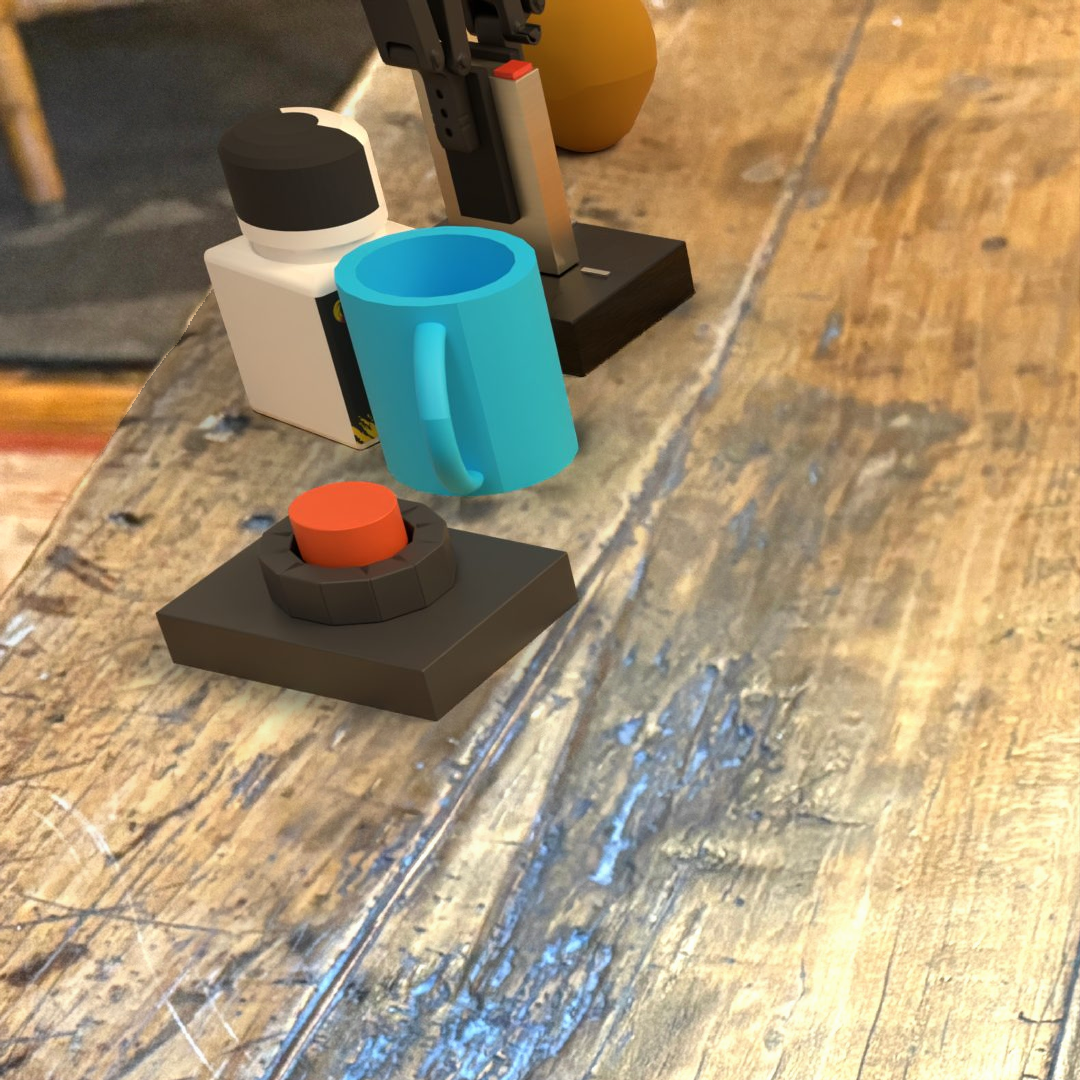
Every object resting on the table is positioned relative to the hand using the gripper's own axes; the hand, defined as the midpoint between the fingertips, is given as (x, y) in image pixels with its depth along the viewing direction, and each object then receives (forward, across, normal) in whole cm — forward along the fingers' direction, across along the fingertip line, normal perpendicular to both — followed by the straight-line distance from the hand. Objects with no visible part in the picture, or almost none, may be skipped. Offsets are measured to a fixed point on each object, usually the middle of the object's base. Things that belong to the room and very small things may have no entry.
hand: (506, 206), depth 122 cm
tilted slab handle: (+2, 0, 0) cm, 2 cm away
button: (+1, -28, -11) cm, 30 cm away
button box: (+5, -28, -11) cm, 30 cm away
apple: (+5, +20, +9) cm, 23 cm away
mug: (+5, -15, -7) cm, 17 cm away
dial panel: (+5, 0, 0) cm, 5 cm away
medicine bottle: (+5, -11, +2) cm, 12 cm away
